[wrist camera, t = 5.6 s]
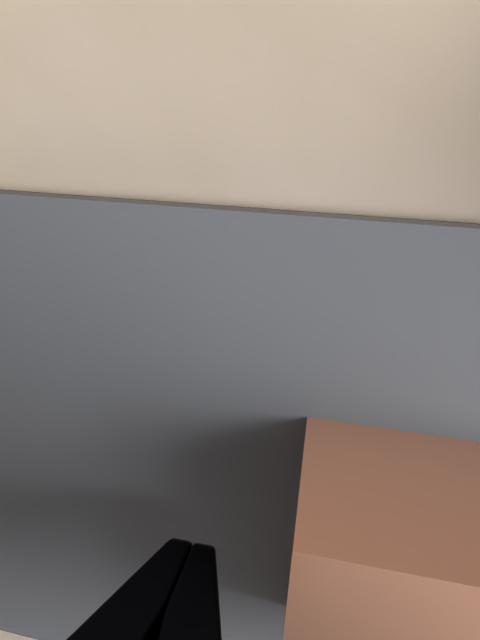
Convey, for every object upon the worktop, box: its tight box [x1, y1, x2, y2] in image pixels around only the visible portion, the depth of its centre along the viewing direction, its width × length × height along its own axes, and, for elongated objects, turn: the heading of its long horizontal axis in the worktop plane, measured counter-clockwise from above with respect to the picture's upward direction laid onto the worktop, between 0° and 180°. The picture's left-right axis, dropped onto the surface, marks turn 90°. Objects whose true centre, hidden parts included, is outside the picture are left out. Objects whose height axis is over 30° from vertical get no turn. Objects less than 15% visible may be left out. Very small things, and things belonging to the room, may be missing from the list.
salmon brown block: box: [282, 417, 480, 640], centre depth 7 cm, size 5×5×3 cm
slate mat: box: [0, 190, 480, 640], centre depth 8 cm, size 18×12×3 cm, turn 88°
